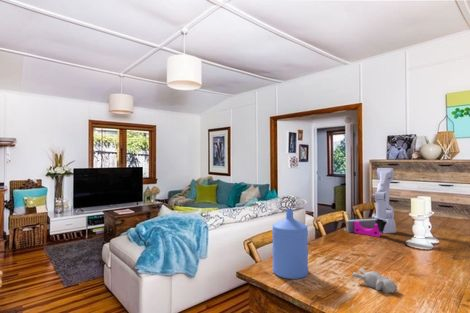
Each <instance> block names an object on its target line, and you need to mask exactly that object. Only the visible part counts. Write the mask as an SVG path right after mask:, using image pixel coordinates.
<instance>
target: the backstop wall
mask: <svg viewBox="0 0 470 313" xmlns="http://www.w3.org/2000/svg"><path fill="white" fill-rule="evenodd" d="M375 220H377V219H375V218H364V219H363V218H361V219H346V220H345V223H346V224H345V226H346V228H343V231H344V232H347V233H355V225H354V222H355V221H359V223H360V225H361V226H362V227H363V228H364V227H365V228H367V229H372V228H373V227H374V225H375V224H377V223H376V222H375Z"/></svg>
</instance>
